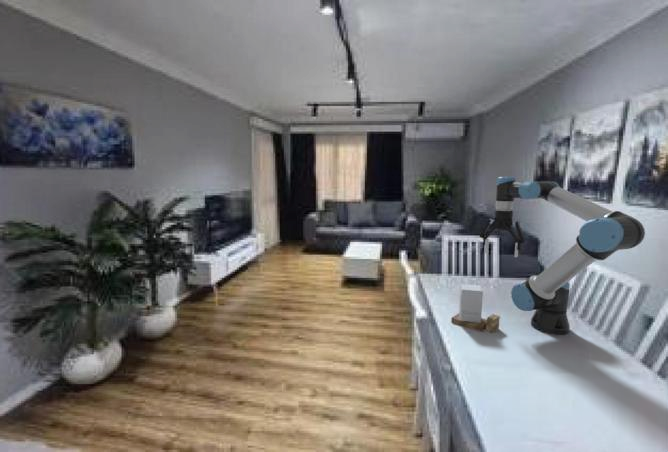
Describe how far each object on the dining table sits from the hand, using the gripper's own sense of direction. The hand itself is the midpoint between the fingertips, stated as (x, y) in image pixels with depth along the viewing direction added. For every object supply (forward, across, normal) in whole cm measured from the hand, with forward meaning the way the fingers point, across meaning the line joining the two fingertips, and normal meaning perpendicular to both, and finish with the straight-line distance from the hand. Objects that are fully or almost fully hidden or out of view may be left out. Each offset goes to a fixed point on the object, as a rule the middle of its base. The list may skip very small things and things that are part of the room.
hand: (500, 254), depth 174 cm
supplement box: (+29, +6, +17) cm, 34 cm away
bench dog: (+31, -4, +17) cm, 35 cm away
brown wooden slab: (+31, +6, +17) cm, 36 cm away
